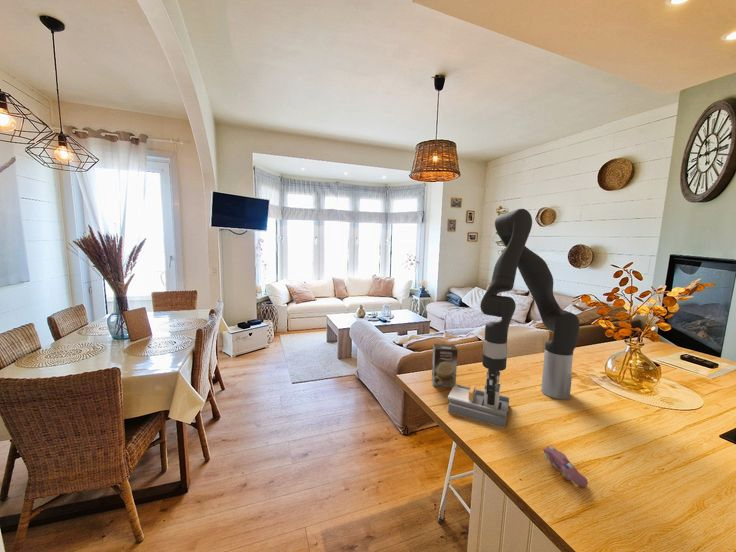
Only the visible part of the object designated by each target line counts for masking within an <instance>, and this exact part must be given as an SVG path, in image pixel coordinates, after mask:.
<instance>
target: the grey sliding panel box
mask: <svg viewBox="0 0 736 552" xmlns="http://www.w3.org/2000/svg"><path fill="white" fill-rule="evenodd" d="M456 387H460V388H464V389H468V390H470V388H471V386H465V385H462V384H456ZM475 391H476V394H475V396H474V399H473V401H472V403H470V402H466V401H463V400H459V399H455V398H451V397H450V399H449V402H448V410H447V412H448V413H450V414H454V415H456V416H460V417H464V418H467V419H471V420H474V421H478V422H480V423H484V424H489V425H491V426H496V427H498V428H502V429H506V423H507V418H508V411H509V407H510V396H507V395H502V394H500V398H499V410H497V409H493V408H489V407H485V406H484V390H482V389H478V388H475Z"/></svg>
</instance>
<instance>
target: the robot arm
mask: <svg viewBox="0 0 736 552" xmlns="http://www.w3.org/2000/svg"><path fill="white" fill-rule="evenodd" d="M532 227H533V217H532V215H531V213H530V211H528V210H527V209H525V208H517V209H514V210H511V211H508V212H505V213H503V214H500V215H497V217H496V218H495V220H494V228H495V231H496V233H497V235H498V236H499V238H500V240H501V242H502V243H503V245H504V246H505V248H504V250H503V252H502V253H501V255H500V256H499V257H498V259H497V260H496V262H495V266H494V267H493V273H492V276H491V282H490V284H489V286H488V288H487V290H486V291H485V293H484V295H483V297H482V298H481V300H480V311H481V312H482V314H484V315H486V316H491V317H498V318H501V319H500V321H489V322H487V323H486V324H485V326H484V341H483V344H482V346H483V347H482V360H481V361H482V363H481V364H482V366H483V367H484V368H485V369H487V372H486V378H487V379H486V381H487V384H486V383H485V384H486V385H487V392H486V393H487V395H488V398H487V404H489V405H494V403H495V395H496V393H495V392H496V388H497V387H498V384H500V377H501V371H505V370H506V368H507V362H508V361H507V360H508V333H509V326H510V324H511V321H512V319H513V316H514V313H515V311H516V307H517V306H516V305H517V304H516V301H515V299H514V298H513V297H511V296H506V295H505V296H504V295H498V294H500V293H503V292H504V293H505V292H511V291H512V290H513V289H514V286H515V285H514V284H515V279H516V274H517V269H518V270H519V274H520V275H521V278H522V279H523V282H524V284H525V286H526V287H527V289H528V291H529V292H530V295H531V297H532V298H533V301H534V303H535V305H536V307H537V310H538V313H539V316H540V318H541V321H542V323H543V325H544V326H545V328H546V329H548V330H549V331H551V332H553V336H552V337H553V338H552V339H550V340H547V341H545V344H544V354H543V365H542V367H543V368H542V375H541V376H542V377H541V379H542V380H541V390H540V391H541V392H542V393H543V394H544V395H545V396H548V397H550V398H552V399H557V400H571V399H570V397H571V389H572V379H573V378H572V377H573V375H572V369H573V361H574V360H573V359H574V358H573V357H574V351H575V349H576V347H577V345H578V339H579V333H580V326H581V325H580V318H579V317H578V315H577V314H576V313H573V312H570V311H567V310H566V309H565V310H564V309H562V308H561V306H560V305H559V304H558V302H557V300H556V298H555V296H554V277H553V275H552V272H551V270H550V267H549V266H548V264H547V262H546V261H545V260H544V259H543V257H541V256H540V255H538V254H537V253H536V252H534V251H532V250H531V249H530V248H528V247H527V246H526V243H527V241H528V239H529V237H530V236H529V235H530V233H531V230H532ZM495 384H496V385H495ZM489 389H490V390H493V391H490V390H489Z"/></svg>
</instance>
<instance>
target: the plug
mask: <svg viewBox="0 0 736 552" xmlns="http://www.w3.org/2000/svg"><path fill="white" fill-rule="evenodd" d="M486 384H487V380H486V381H485V384H484V389H483V391H484V406H485V407H489V408H493V409H497V410H499V398H500V395H501V383H498V387H497V388H496V392H495V393H496V395H495V403H494V405H489V404H487V398H488V395H487V393H486V392H487V385H486ZM495 385H496V384H495ZM489 390H490V389H489ZM490 391H493V390H490Z"/></svg>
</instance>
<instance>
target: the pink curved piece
mask: <svg viewBox="0 0 736 552" xmlns="http://www.w3.org/2000/svg"><path fill="white" fill-rule="evenodd" d="M542 451H543V453H544V454H543V455H544V458H545V459H546V460H548V461H549V462H550V463H551V465H552V466H553V467H554V468H555V470H557V471H560V474H561V476H562V477H563V478H564V479H565V480H566V481H571V482H573V483H574V484H575V485H577V486H580V487H583V488H584V487H587V485H588V482H589V481H588V479H587V478H586V477H585V476H584V475H583V474H581V473H580V472H579V471H578V469H577V468H576V467H575V465H573V464H572V462H571V461H570V460H569V459H568V457H567V456H566V455H565V453H563V452H561V451H559V450H558V449H556V448H555V447H554V446H546V447H544V448H543V449H542Z"/></svg>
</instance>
